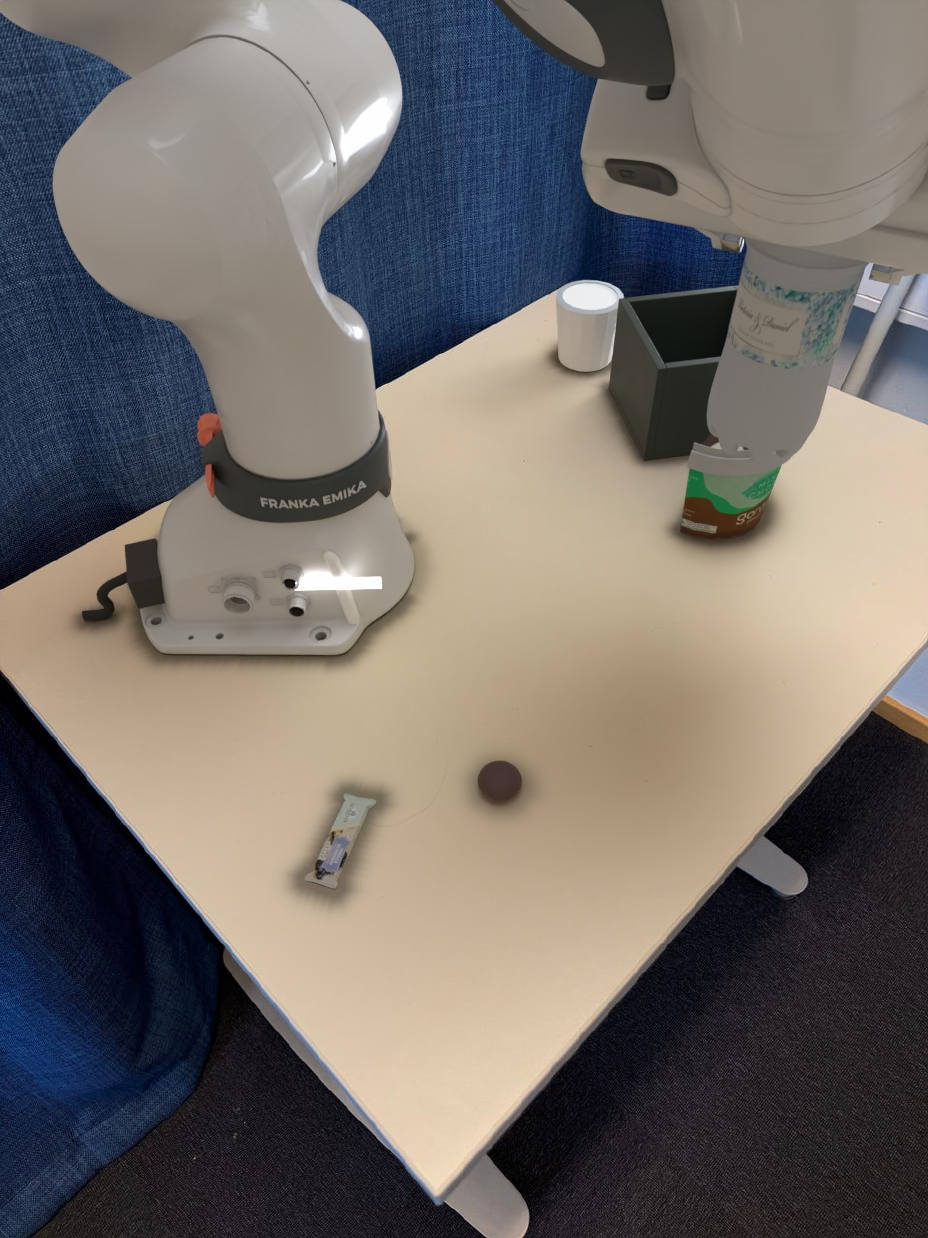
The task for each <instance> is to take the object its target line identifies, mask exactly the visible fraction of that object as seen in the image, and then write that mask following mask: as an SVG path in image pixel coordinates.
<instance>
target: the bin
mask: <svg viewBox="0 0 928 1238" xmlns="http://www.w3.org/2000/svg"><path fill="white" fill-rule="evenodd" d="M737 290H738V285H730V286H720V287H713V288H712V287H711V288H703V289H693V290H685V291H675V292H666V293H658V294H657V293H656V294H649V295H640V296H630V297H629V296H628V297H624V298H621V299H619V302H618V311H617V320H616V329H615V338H614V346H613V354H612V358H611V365H610V374H609V382H608V389H609V391H610V393H611V395H612V397H613V399H614V401H615V403H616V406H617V407H618V409H619V412H620V414H621V416H622V418H623V420H624V423H625V424H626V426H627V429H628V430H629V432H630V434H631V437H632V439H633V441H634V443H635V445H636V448H637V449H638V451H639V453H640V456H641V458H642V460H643V461H650V460H656V459H657V460H658V459H664V458H673V457H681V456H690V453H691V451H692V450H693V445H694V442H695V443H698V444H702V443H703V442H704V441H705V440H706V439H707V438H708V437H709V436H710V435H711V433H710V431H709V429H708V425H707V408H708V400H709V396H710V392H711V387H712V384H713V381H714V377H715V374H716V371H717V367H718V364H719V361H720V358H721V355H722V352H723V349H724V346H725V342H726V338H727V334H728V328H729V324H730V320H731V316H732V311H733V307H734V303H735V298H736V294H737Z"/></svg>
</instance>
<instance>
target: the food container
mask: <svg viewBox="0 0 928 1238" xmlns="http://www.w3.org/2000/svg"><path fill="white" fill-rule="evenodd" d="M792 457H793V456H791V457H789V458H786V459H782V458H779V457H778V456H777V455H776V451H775V452H774V453H772V454H771V455H770V457H769V458H768V459H767V460H766V461H764V462H763V463H756V462H753V461H752V460H751V451H750V450H749V449H748V448H745V447H742V446H739V447H738V450H737V451H736V452H735V453H734V454H728V453H727V452H725V451H724V450H722V448H721V447H720V443H719V438H718V437H715V436H713V435H712V434H711V435H710V436H709V437H708V438H707V439H706V440H705V441H704V442H703V443H702V444H698V443H695V442H694V445H693V450H692V451H691V453H690V455H689V456H688V460H687V464H686V468H688V469H689V470H688V476H687V482H686V489H685V496H684V502H683V509H682V515H681V523H680V528H679V532H681V533H684V534H685V535H689V536H691V537H696V538H701V539H702V538H703V539H706V540H707V539H708V540H726V539H732V538H736V537H738V536H739V537H740V536H742V535H745V534H746V533H748V532H750V531H751V530H753V529H754V528H755V527H756V526H757V525H758V524H759V522H760V520H761V519H762V516H763V513H764V511H765V509H766V505H767V503H768V501H769V498H770V496H771V493H772V491H773V489H774V486H775V483H776V481H777V478H778V476H779V473H780V471H781V468H782V466H783V465H784V464H786V463H787V462H788V461H789V460H791V458H792Z"/></svg>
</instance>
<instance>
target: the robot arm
mask: <svg viewBox="0 0 928 1238" xmlns="http://www.w3.org/2000/svg"><path fill="white" fill-rule="evenodd" d="M492 2H493V3H494V4H495V5H496V6H497V8H498V9H499V10H500V11H501V12H502V14H503V15H504V16H505V17H506V18H507V19H508V20H509V21H510V22H511V23H512V24H513V25H514V27H515V28H517V29H518V30H519V31H520V32H521V33H522V34H523V35H524V36H525V37H527V38H528V39H529V40H530V41H531V42H532V43H533V44H534V45H536V46H537V47H539V48H540V49H541V50H542V51H544V52H545V53H546V54H548V55H549V56H551V57H552V58H554V59H556V60H557V61H558V62H561V64H563V65H566V66H568V67H569V68H571V69H573V70H575V71H577V72H579V73H581V74H584V75H585V76H588V77H591V78H594V79H597V81H596V84H595V88H594V91H593V95H592V97H591V101H590V106H589V109H588V113H587V117H586V121H585V127H584V131H583V137H582V141H581V147H580V153H579V155H580V159H581V161H582V164H581V173H582V179H583V182H584V186H585V189H586V191H587V193H588V195H589V197H590V199H591V200H592V201H593V202H594V203H595V204H597V205H599V206H601V207H603V208H604V209H606V210H608V211H611V212H612V213H613V212H614V213H616V214H620V215H627V216H632V217H637V218H638V217H639V218H643V219H648V220H653V221H657V222H663V223H668V224H673V225H678V226H683V227H688V228H693V229H695V230H696V231H698V232H699V233H701V234H703V235H704V236H706V237H707V238H710V241H711V247H712V248H713V249H716V250H720V251H726V252H731V253H735V254H740V253H742V250H743V247H744V245H745V238H748V239H753V240H758V241H763V242H768V243H773V244H778V245H783V246H788V247H793V248H798V249H803V250H808V251H813V252H818V253H823V254H829V255H834V256H839V257H844V258H849V259H854V260H859V261H864V262H869V264H872V267H871V269H870V273H869V275H868V276H869V277H868V280H870V281H874V282H879V283H883V284H887V285H892V286H896V287H898V286H900V283H901V281H902V279H903V277H910V276H914V275H919V274H925V275H928V0H492ZM0 14H2V15H3V16H4V17H5V18H7V19H8V20H9V21H11V22H12V23H13V24H15V25H16V26H18V27H20V28H22V29H23V30H25V31H28V32H29V33H32V34H33V35H37V36H39V37H42V38H45V39H48V40H53V41H56V42H59V43H60V42H61V43H64V44H68V45H70V46H75V47H77V48H80V49H82V50H84V51H86V52H89V53H91V54H93V55H94V56H96V57H99V58H101V59H102V60H104V61H105V62H107V63H109V64H110V65H112V66H114V67H116V68H117V69H119V70H120V71H122V72H123V73H124V74H125V75H127V76H129V77H130V79H128V80H126V81H124V82H123V83H121V84H119V85H117V86H116V87H115V88H114V89H112V90H111V91H110V92H109V93H108V94H107V95H106V96H105V97H104V98H103V99H102V100H101V101H100V102H99V103H98V105H97V106H96V107H95V108H94V109H93V110H92V111H91V113H90V114H89V115H88V116H87V117H86V118H85V119H84V120H83V121H82V122H81V124H80V125H79V127H77V129H76V130H75V131H74V132H73V133H72V135H71V136H70V137H69V139H68V140H67V141H66V142H65V144H64V145H63V146H62V148H61V149H60V150H59V153H58V154H57V157H56V160H55V164H54V167H53V173H52V193H53V200H54V205H55V209H56V213H57V217H58V221H59V224H60V226H61V229H62V232H63V234H64V236H65V237H66V240H67V242H68V245H69V246H70V248H71V250H72V252H73V253H74V255H75V257H76V258H77V260H78V261H79V262H80V264H81V266H82V267H83V269H85V270H86V271H87V273H88V274H89V275H90V276H91V277H92V279H93V280H94V281H96V282H97V284H98V285H100V286H101V287H102V288H103V289H104V290H105V291H106V292H107V293H109V294H110V295H111V296H113V297H114V298H116V299H117V300H118V301H119V302H121V303H122V304H124V305H126V306H127V307H130V308H131V309H133V310H135V311H137V312H138V313H139V312H140V313H142V314H144V315H147V316H148V317H152V318H155V319H159V320H163V321H168V322H170V323H172V324H174V325H175V326H176V327H177V328H178V329H179V330H180V331H181V333H182V334H183V335H184V337H185V338H186V339H187V341H188V342H189V344H190V345H191V346H192V348H193V350H194V352H195V354H196V355H197V357H198V359H199V362H200V364H201V366H202V369H203V371H204V372H203V373H204V374H205V378H206V381H207V384H208V388H209V390H210V394H211V397H212V400H213V403H214V406H215V410H216V413H212V412H208V413H204V414H202V415H201V416H200V417H199V419H198V420H197V433H196V434H197V435H196V438H197V441H198V443H199V444H200V445H201V446H202V449H201V455H200V456H201V457H200V459H201V465H202V470H203V473H204V474H203V475H202V476H200V477H199V478H198V479H196V480H195V481H194V482H192V483H191V484H190V485H189V486H187V487H186V488H184V489H183V490H181V491H180V492H179V493H178V494H176V495H175V496H174V497H173V498H172V499H171V500H170V502H169V503H168V505H167V507H166V510H165V512H164V514H163V516H162V517H163V518H162V520H161V524H160V527H159V531H158V537H157V538H156V537H155V538H150V539H145V540H141V541H140V540H139V541H135V542H131V543H126V544H124V556H125V570H126V571H124V572H122V573H119V574H118V575H116V576H114V577H111V578H110V579H107V580H106V581H105V582H104V583H103V584H101V585H100V586H99V588H98V589H97V590H96V600H97V602H98V603H99V604H100V606H101V607H102V608H100V609H99V608H98V609H86V610H85V609H84V610H82V611H81V617H82V620H83V621H84V622H86V621H99V620H105V619H107V618H109V617H111V616H112V615H113V614H114V613H115V609H116V608H115V607H116V606H115V603H114V601H113V600H112V599H111V598H110V597H109V594H110V592H112V591H114V590H115V589H117V588H119V587H122V586H124V585H125V584H127V587H128V588H129V591H130V594H131V595H132V598H133V600H134V602H135V605H136V607H137V609H138V610H139V613H140V618H141V622H142V626H143V630H144V631H145V635H146V636H147V638H148V640H149V642H150V643H151V644H152V646H153V647H154V649H156V650H157V651H158V652H159V653H161V654H168V655H268V656H269V655H270V656H271V655H278V656H280V655H283V656H285V655H286V656H287V655H288V656H289V655H290V656H292V655H294V656H299V655H301V656H337V655H342V654H344V653H346V652H348V651H349V650H350V649H351V648H352V647H353V646H354V645H355V644H356V642H357V641H358V640H359V638H360V637H361V636H362V633H364V631H365V629H366V628H367V627H368V626H369V625H370V624H372V623H373V622H375V621H376V620H377V619H379V618H380V617H382V616H383V615H385V614H386V613H388V612H389V611H390V610H391V609H392V608H393V607H395V606H396V605H397V604H398V603H399V602H400V601H401V599H402V598H403V597H404V596H405V594H406V593H407V591H408V590H409V587H410V586H411V584H412V582H413V578H414V575H415V570H416V559H415V554H414V551H413V548H412V546H411V544H410V542H409V540H408V538H407V536H406V534H405V532H404V530H403V528H402V525H401V522H400V520H399V517H398V514H397V511H396V507H395V504H394V501H393V497H392V480H393V465H392V455H391V446H390V439H389V433H388V430H387V429H386V425H385V420H384V417H383V415H382V413H381V412H380V410H379V408H378V400H377V391H376V379H375V372H374V364H373V354H372V345H371V337H370V333H369V329H368V327H367V324H366V322H365V320H364V319H363V317H362V316H361V314H360V312H358V311H357V309H355V308H354V307H353V306H352V305H351V304H349V303H348V302H346V301H345V300H344V299H342V298H341V297H339V296H338V295H335V294H333V293H331V292H329V291H327V288H326V286H325V284H324V280H323V277H322V274H321V270H320V266H319V260H318V246H319V241H320V235H321V232H322V228H323V226H324V225H325V224H326V222H327V221H328V220H329V219H330V218H331V217H332V216H333V215H334V214H335V213H337V212H338V210H340V209H341V208H342V207H343V206H344V205H345V204H346V203H347V202H348V201H350V200H351V199H352V198H353V197H354V196H355V195H356V194H357V193H359V191H360V190H361V189H362V188H363V187H365V185H366V184H367V183H369V181H370V180H371V179H372V177H373V176H374V174H375V172H376V171H377V169H378V167H379V166H380V164H381V162H382V160H383V158H384V156H385V155H386V153H387V151H388V149H389V147H390V145H391V142H392V140H393V138H394V136H395V133H396V132H397V129H398V126H399V123H400V120H401V117H402V116H401V115H402V110H403V85H402V80H401V75H400V70H399V67H398V64H397V61H396V58H395V56H394V54H393V51H392V48H391V47H390V45H389V43H388V41H387V40H386V38H385V37H384V36H383V34H382V32H381V31H380V30H379V28H378V27H377V26H376V25H375V24H374V23H373V22H372V20H370V18H369V17H367V16H366V15H365V14H364V13H363V12H361V11H360V10H359V9H357V8H356V7H355V6H353V5H351V4H349V3H348V2H345V1H343V0H0Z"/></svg>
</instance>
